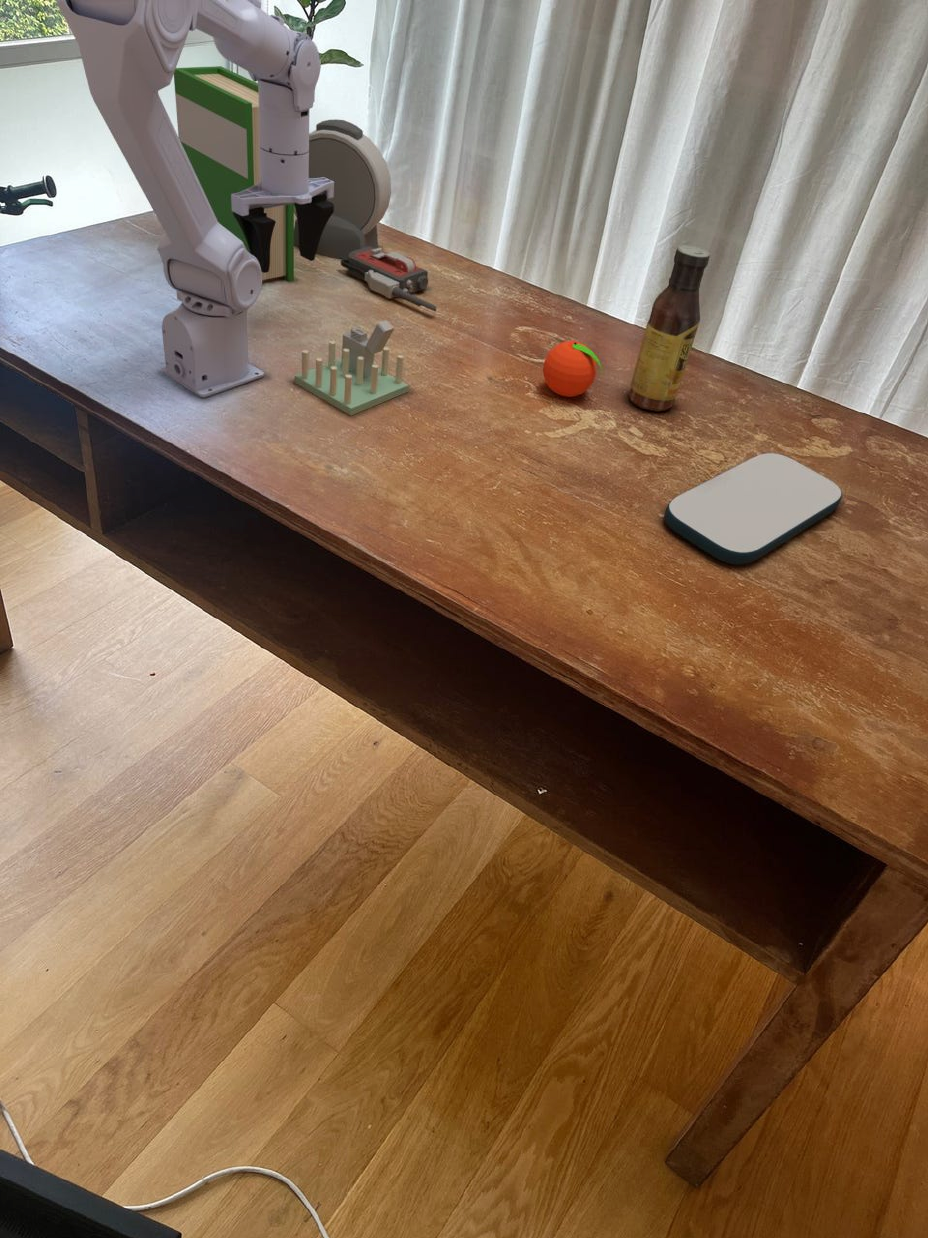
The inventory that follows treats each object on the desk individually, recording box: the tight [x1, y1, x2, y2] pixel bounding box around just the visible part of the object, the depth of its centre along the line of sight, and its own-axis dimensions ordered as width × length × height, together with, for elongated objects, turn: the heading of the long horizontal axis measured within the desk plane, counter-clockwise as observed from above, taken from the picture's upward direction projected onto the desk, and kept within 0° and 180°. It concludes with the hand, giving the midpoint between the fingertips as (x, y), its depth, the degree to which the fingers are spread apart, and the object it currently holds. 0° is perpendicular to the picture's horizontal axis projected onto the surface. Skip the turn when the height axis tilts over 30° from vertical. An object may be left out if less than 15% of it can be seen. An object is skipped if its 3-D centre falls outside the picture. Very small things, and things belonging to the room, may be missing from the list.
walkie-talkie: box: [340, 246, 437, 312], centre depth 134 cm, size 9×4×20 cm
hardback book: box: [173, 65, 295, 282], centre depth 128 cm, size 18×7×24 cm, turn 43°
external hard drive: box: [663, 452, 843, 565], centre depth 101 cm, size 24×12×2 cm, turn 133°
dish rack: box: [294, 340, 410, 417], centre depth 110 cm, size 10×10×4 cm
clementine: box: [542, 340, 603, 398], centre depth 115 cm, size 8×7×7 cm
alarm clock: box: [294, 119, 392, 260], centre depth 140 cm, size 16×10×18 cm, turn 74°
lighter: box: [341, 319, 395, 378], centre depth 110 cm, size 7×2×8 cm, turn 49°
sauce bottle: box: [628, 244, 711, 412], centre depth 113 cm, size 6×6×20 cm
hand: (284, 263), depth 114 cm, fingers open, 7 cm apart
